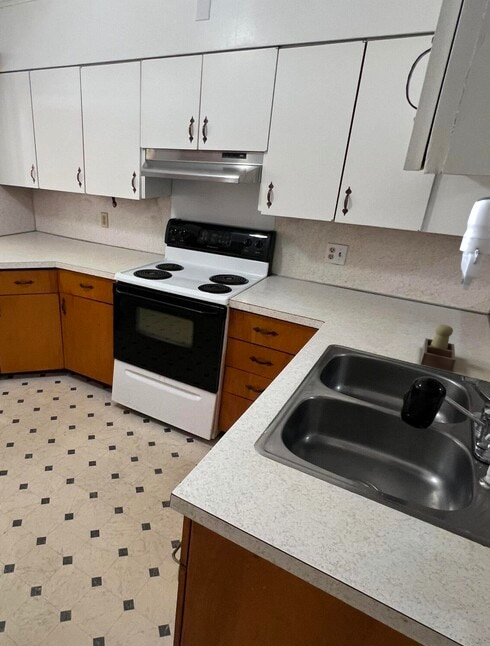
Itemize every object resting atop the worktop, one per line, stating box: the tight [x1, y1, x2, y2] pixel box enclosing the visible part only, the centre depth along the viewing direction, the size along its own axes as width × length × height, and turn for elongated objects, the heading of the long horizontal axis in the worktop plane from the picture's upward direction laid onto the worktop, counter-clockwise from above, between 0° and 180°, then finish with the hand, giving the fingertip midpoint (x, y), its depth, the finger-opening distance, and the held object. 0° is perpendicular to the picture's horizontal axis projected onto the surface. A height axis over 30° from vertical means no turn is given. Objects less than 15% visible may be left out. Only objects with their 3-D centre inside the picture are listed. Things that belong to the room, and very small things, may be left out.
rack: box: [420, 338, 456, 373], centre depth 149 cm, size 9×17×5 cm, turn 148°
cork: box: [430, 324, 454, 350], centre depth 151 cm, size 6×6×11 cm
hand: (464, 286), depth 148 cm, fingers open, 8 cm apart
